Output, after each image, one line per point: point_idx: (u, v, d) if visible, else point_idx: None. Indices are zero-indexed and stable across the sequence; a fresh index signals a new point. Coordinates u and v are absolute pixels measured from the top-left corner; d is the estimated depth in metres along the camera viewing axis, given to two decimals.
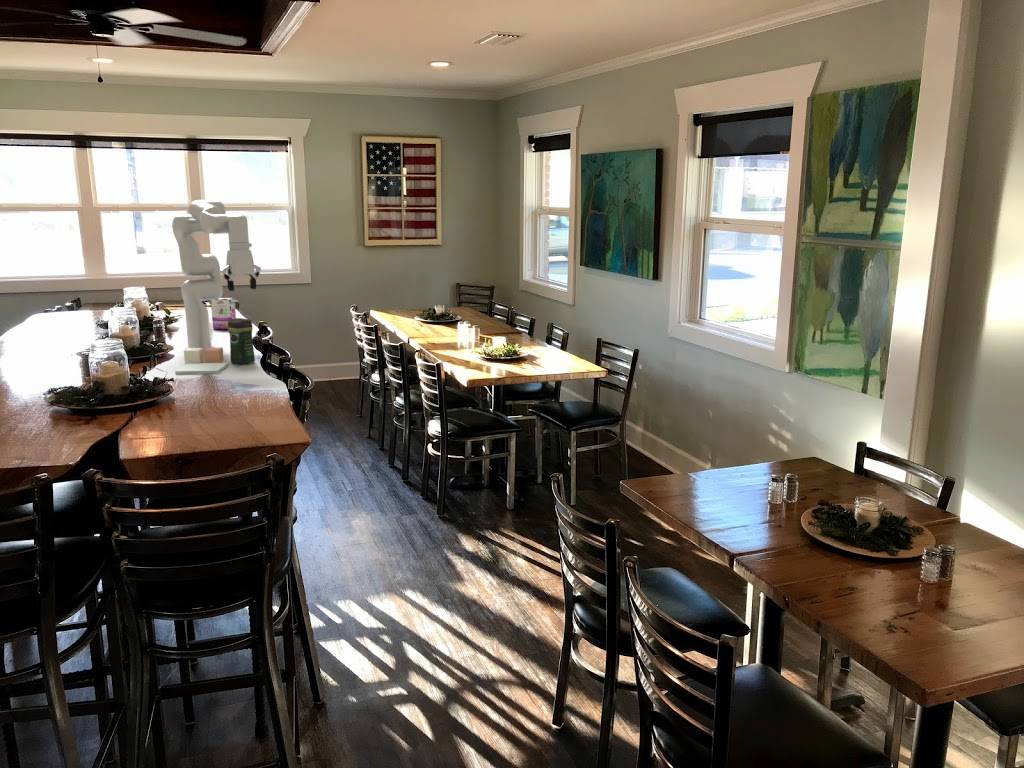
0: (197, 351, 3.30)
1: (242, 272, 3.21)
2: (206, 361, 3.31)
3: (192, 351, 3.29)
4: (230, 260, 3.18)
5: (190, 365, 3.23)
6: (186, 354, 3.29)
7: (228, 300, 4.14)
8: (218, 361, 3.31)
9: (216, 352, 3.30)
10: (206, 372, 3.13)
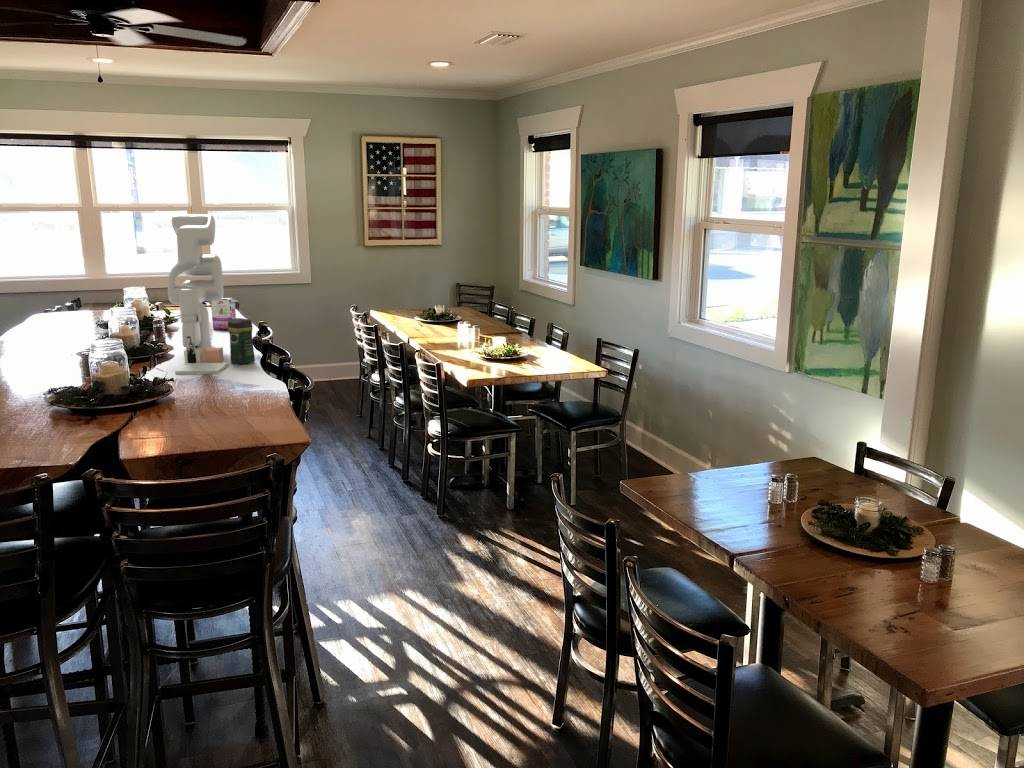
0: (197, 351, 3.29)
1: (197, 342, 3.31)
2: (206, 361, 3.31)
3: None
4: (191, 332, 3.26)
5: (190, 365, 3.23)
6: (186, 354, 3.29)
7: (228, 300, 4.14)
8: (218, 361, 3.31)
9: (216, 352, 3.30)
10: (206, 372, 3.13)
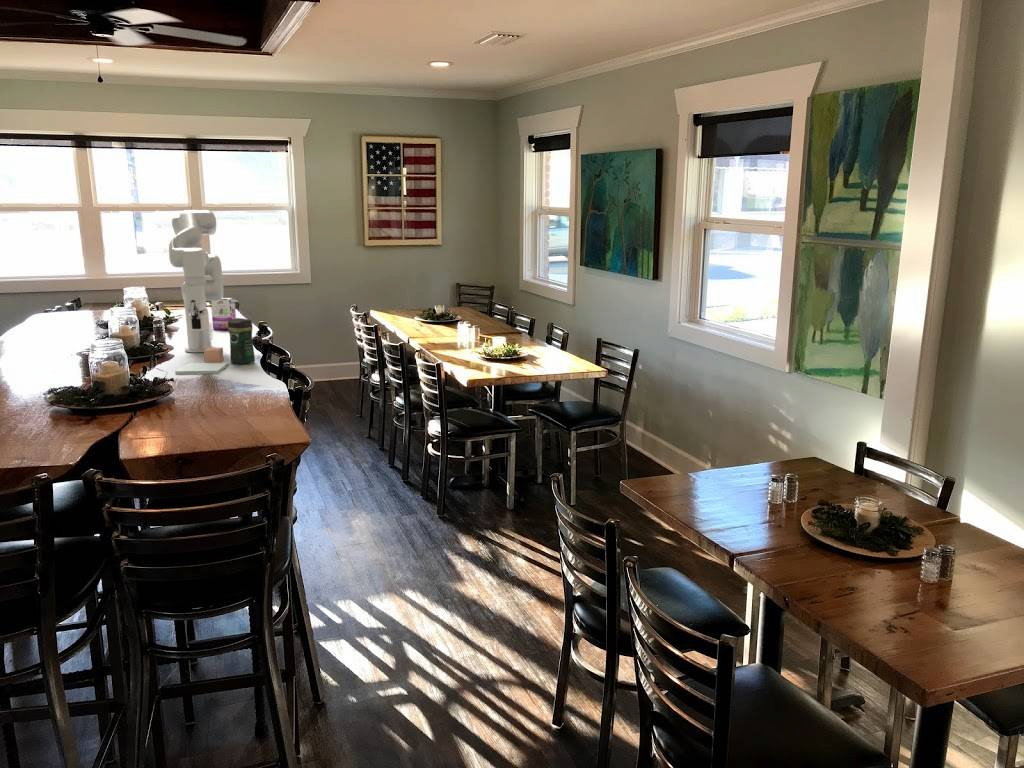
0: (202, 316, 3.13)
1: (202, 307, 3.15)
2: (206, 361, 3.31)
3: None
4: (195, 296, 3.09)
5: (190, 365, 3.23)
6: (190, 319, 3.13)
7: (228, 300, 4.14)
8: (218, 361, 3.31)
9: (216, 352, 3.30)
10: (206, 372, 3.13)
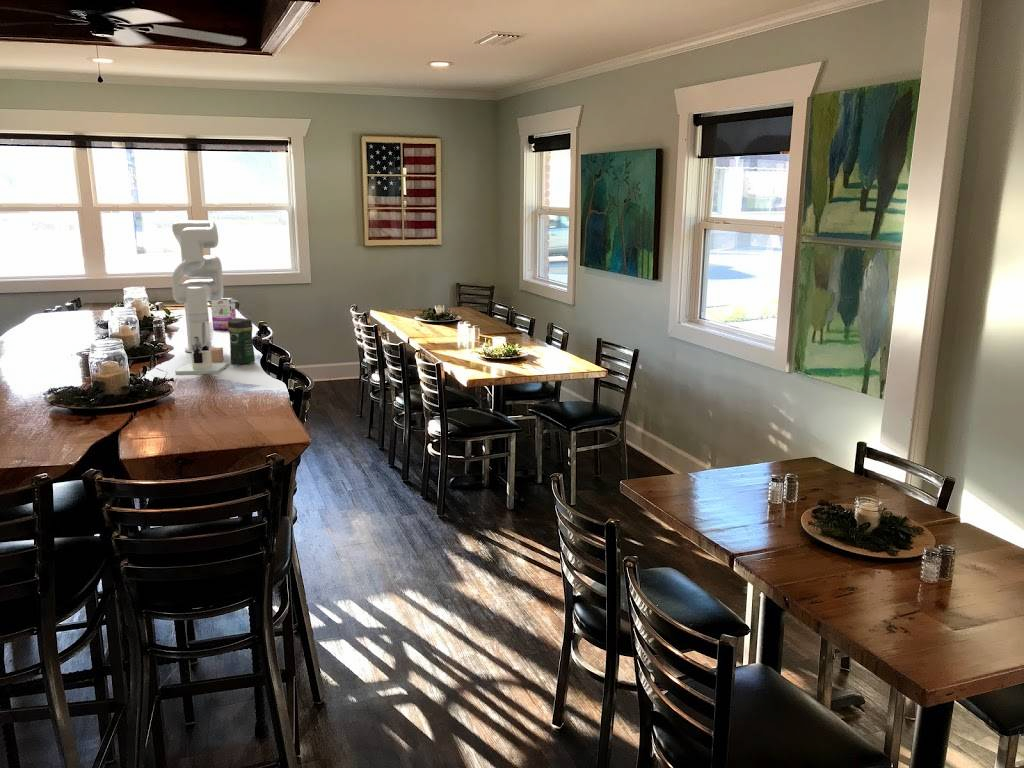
0: (205, 354, 3.16)
1: (205, 343, 3.18)
2: None
3: None
4: (198, 332, 3.12)
5: (190, 365, 3.23)
6: (193, 357, 3.16)
7: (228, 300, 4.14)
8: (218, 361, 3.31)
9: (216, 352, 3.30)
10: (206, 372, 3.13)
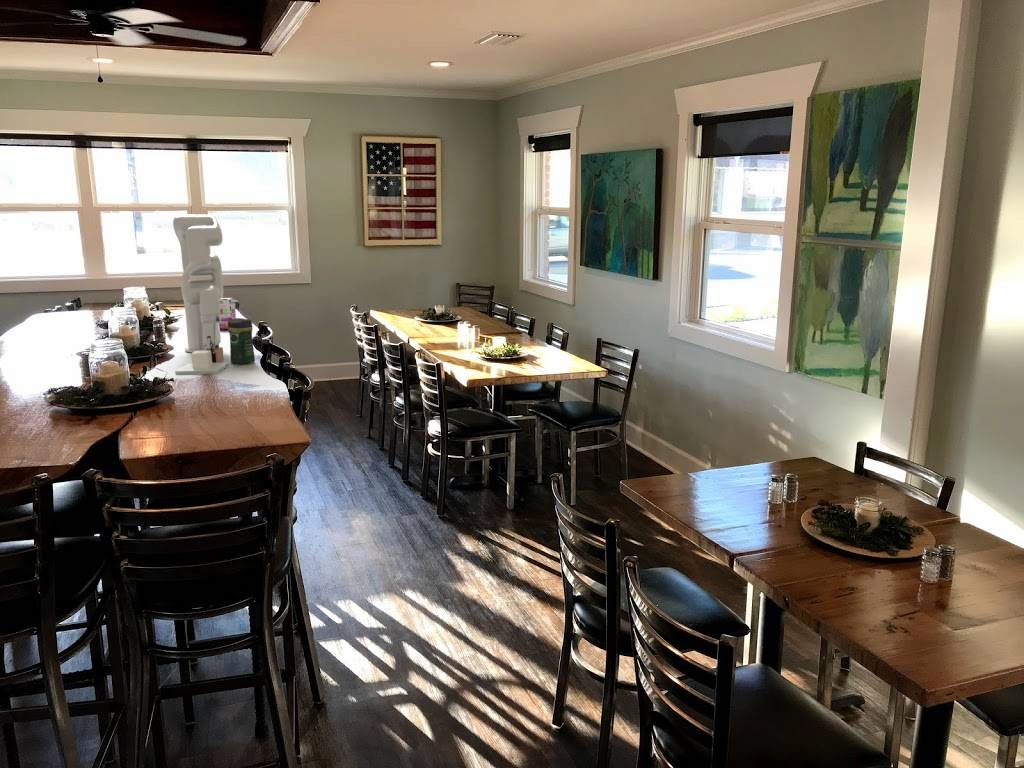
0: (205, 354, 3.16)
1: (217, 342, 3.32)
2: None
3: (200, 354, 3.16)
4: (211, 332, 3.27)
5: (190, 365, 3.23)
6: (193, 357, 3.16)
7: (228, 300, 4.14)
8: (218, 361, 3.31)
9: (216, 351, 3.30)
10: (206, 372, 3.13)
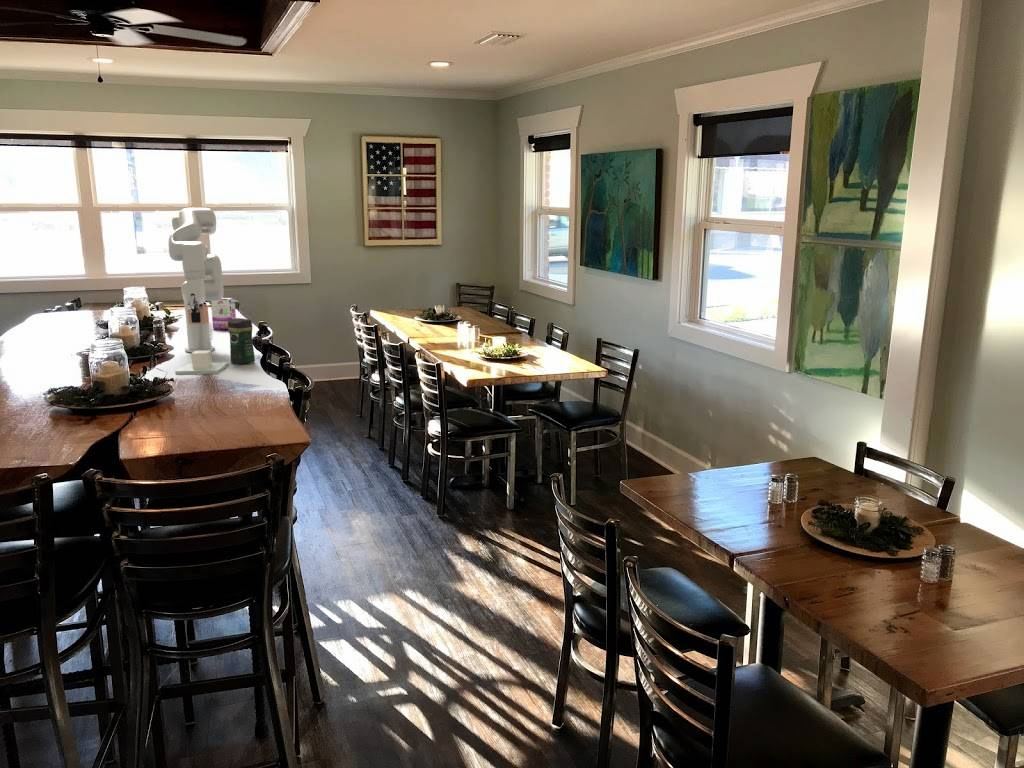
0: (205, 354, 3.16)
1: (202, 301, 3.14)
2: (190, 320, 3.13)
3: (200, 354, 3.16)
4: (195, 289, 3.09)
5: (190, 365, 3.23)
6: (193, 357, 3.16)
7: (228, 300, 4.14)
8: (202, 320, 3.13)
9: (201, 310, 3.13)
10: (206, 372, 3.13)
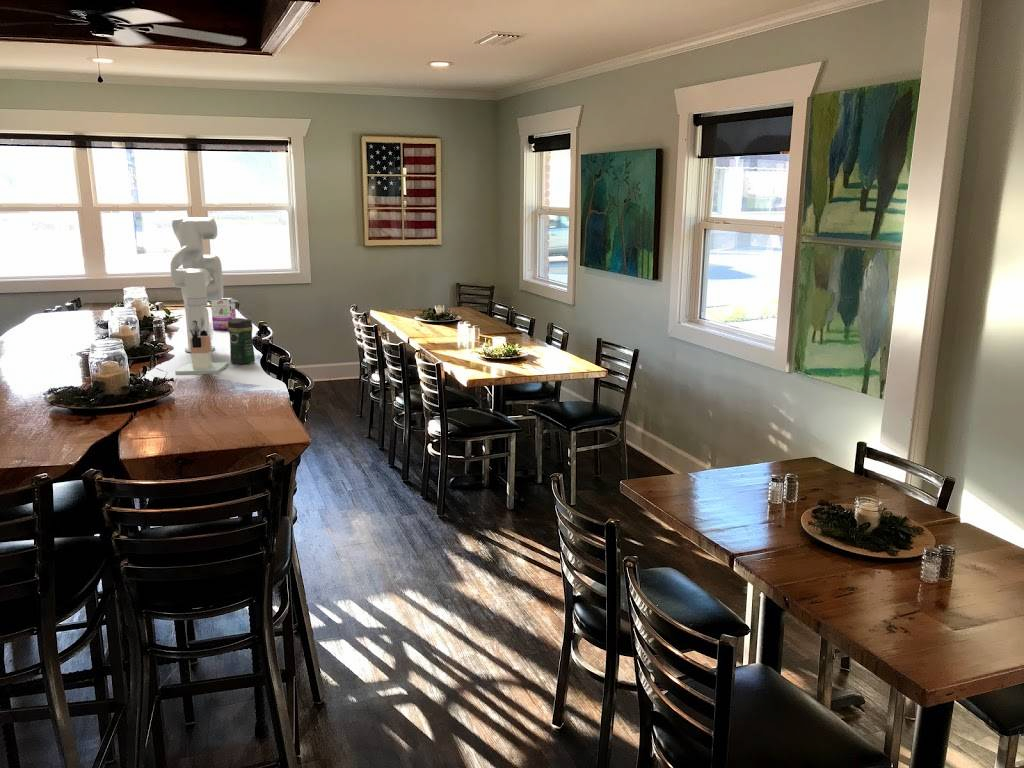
0: (205, 354, 3.16)
1: (204, 327, 3.16)
2: (192, 350, 3.16)
3: (200, 354, 3.16)
4: (197, 316, 3.11)
5: (190, 365, 3.23)
6: (193, 357, 3.16)
7: (228, 300, 4.14)
8: (205, 350, 3.16)
9: (203, 340, 3.15)
10: (206, 372, 3.13)
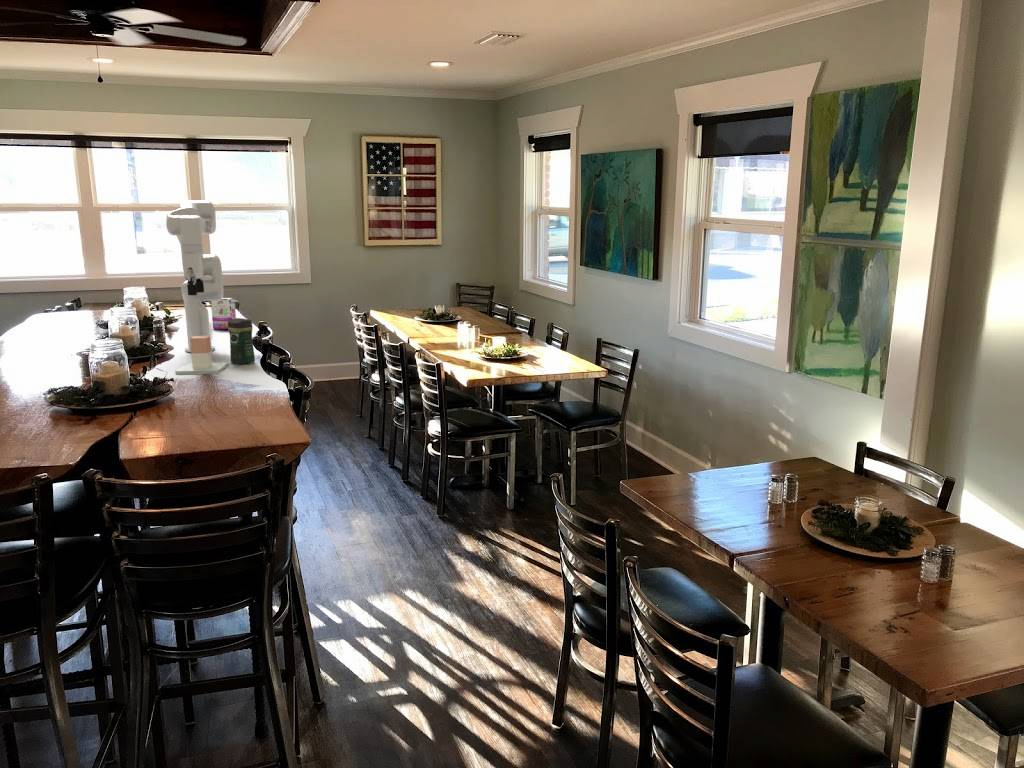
0: (205, 354, 3.16)
1: (199, 275, 3.12)
2: (192, 350, 3.16)
3: (200, 354, 3.16)
4: (192, 263, 3.07)
5: (190, 365, 3.23)
6: (193, 357, 3.16)
7: (228, 300, 4.14)
8: (205, 350, 3.16)
9: (203, 340, 3.15)
10: (206, 372, 3.13)
